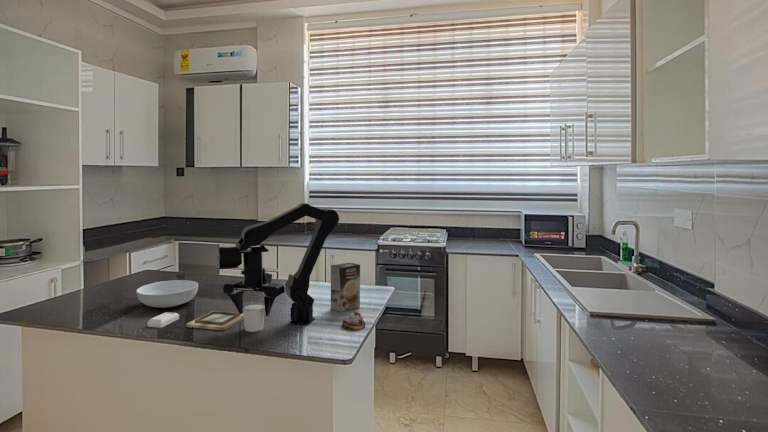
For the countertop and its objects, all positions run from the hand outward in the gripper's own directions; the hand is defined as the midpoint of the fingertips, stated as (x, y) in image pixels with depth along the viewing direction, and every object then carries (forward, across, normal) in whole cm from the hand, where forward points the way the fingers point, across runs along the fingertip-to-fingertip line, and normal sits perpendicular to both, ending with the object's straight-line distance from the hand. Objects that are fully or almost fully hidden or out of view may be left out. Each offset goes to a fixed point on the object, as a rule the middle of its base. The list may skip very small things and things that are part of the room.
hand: (254, 314), depth 140 cm
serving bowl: (+5, +45, -16) cm, 48 cm away
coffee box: (+5, -21, -28) cm, 35 cm away
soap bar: (+5, +32, +2) cm, 33 cm away
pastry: (+5, -30, -10) cm, 32 cm away
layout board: (+4, +15, -3) cm, 16 cm away
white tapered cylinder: (+5, 0, 0) cm, 5 cm away
